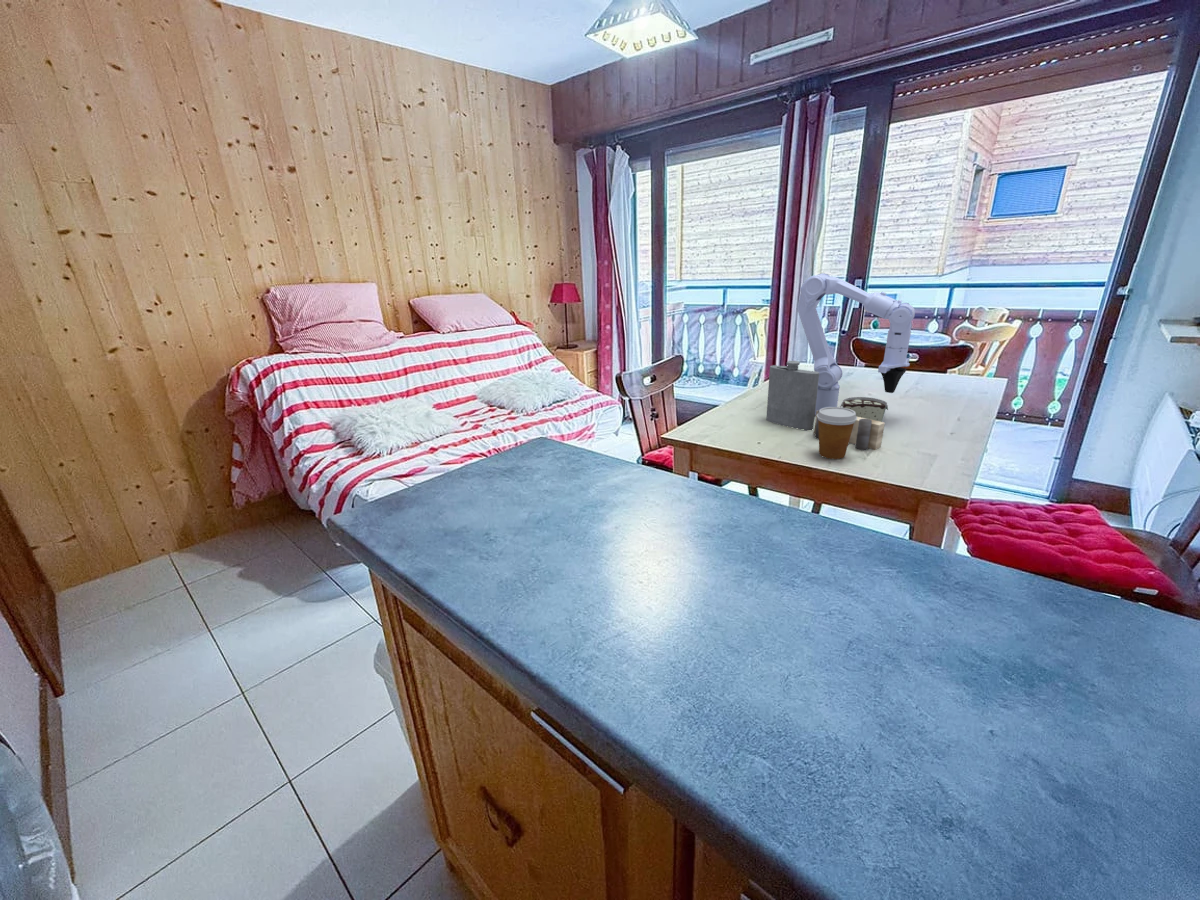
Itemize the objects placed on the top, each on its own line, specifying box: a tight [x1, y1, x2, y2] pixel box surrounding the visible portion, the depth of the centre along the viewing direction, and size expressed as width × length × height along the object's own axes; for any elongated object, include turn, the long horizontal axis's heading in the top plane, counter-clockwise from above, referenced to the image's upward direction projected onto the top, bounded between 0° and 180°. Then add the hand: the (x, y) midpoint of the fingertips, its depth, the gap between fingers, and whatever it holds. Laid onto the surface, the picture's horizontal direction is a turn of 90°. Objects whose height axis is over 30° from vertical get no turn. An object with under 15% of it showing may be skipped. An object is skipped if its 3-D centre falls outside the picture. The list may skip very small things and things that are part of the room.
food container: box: [839, 396, 889, 422], centre depth 146 cm, size 12×6×10 cm, turn 74°
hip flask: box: [765, 360, 819, 431], centre depth 153 cm, size 16×4×20 cm, turn 38°
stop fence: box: [813, 410, 886, 451], centre depth 140 cm, size 18×6×8 cm, turn 37°
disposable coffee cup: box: [817, 406, 857, 460], centre depth 131 cm, size 10×10×12 cm
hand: (889, 392), depth 151 cm, fingers closed
